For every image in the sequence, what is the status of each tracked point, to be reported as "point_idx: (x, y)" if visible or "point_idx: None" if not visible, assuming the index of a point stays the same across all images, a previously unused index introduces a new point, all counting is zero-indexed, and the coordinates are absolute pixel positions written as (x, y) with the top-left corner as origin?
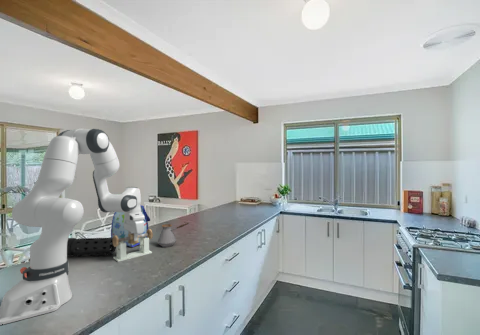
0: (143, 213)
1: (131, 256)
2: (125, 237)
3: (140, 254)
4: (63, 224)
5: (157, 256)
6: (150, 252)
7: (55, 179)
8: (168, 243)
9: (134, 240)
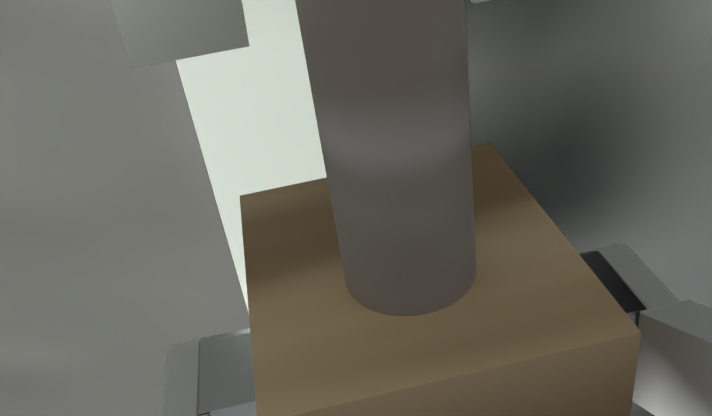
0: None
1: (204, 61)
2: (409, 154)
3: (233, 224)
4: None
5: (46, 411)
6: None
7: None
8: None
9: (170, 353)
